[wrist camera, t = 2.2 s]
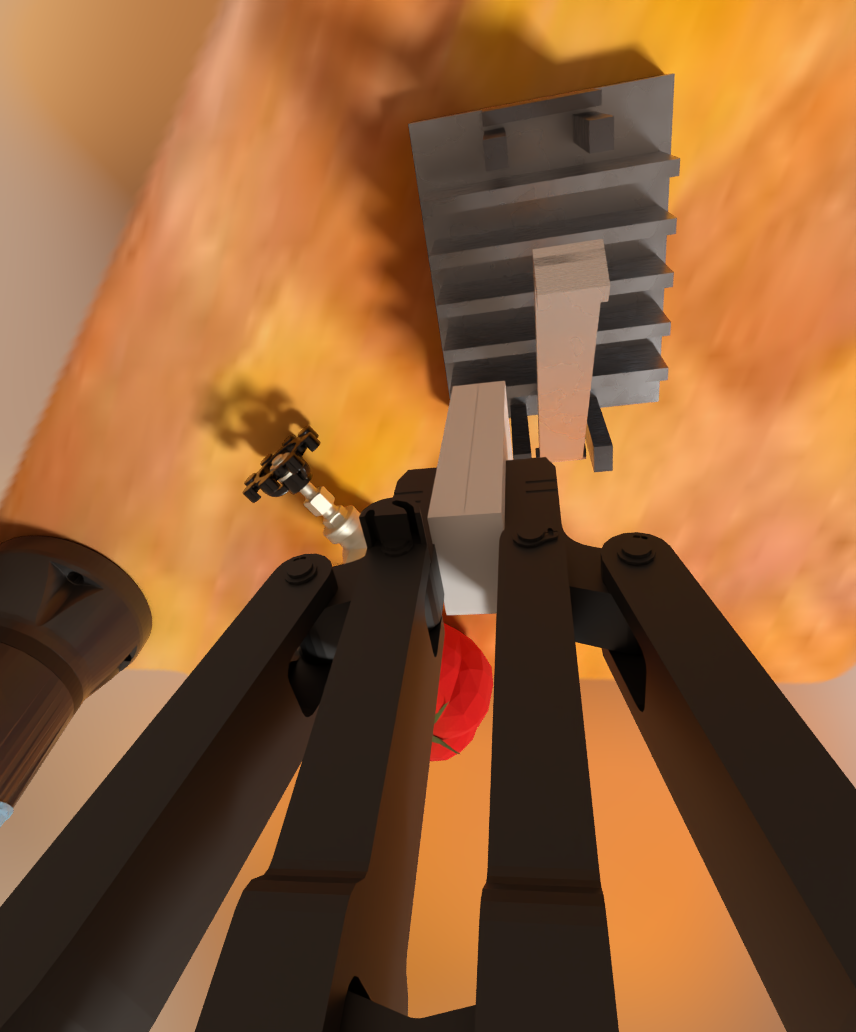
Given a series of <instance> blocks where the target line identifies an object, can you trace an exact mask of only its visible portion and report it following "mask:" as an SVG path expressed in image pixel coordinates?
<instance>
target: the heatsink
mask: <svg viewBox="0 0 856 1032" xmlns="http://www.w3.org/2000/svg"><path fill="white" fill-rule="evenodd" d="M673 95H674V74H663V75H658V76H653V77H648V78H642V79H637V80H632V81H627V82H621V83H616V84H611V85H606V86H600V87H595V88H590V89H584V90H579V91H574V92H569V93H563V94H558V95H553V96H548V97H542V98H537V99H532V100H527V101H521V102H516V103H511V104H505V105H500V106H495V107H490V108H484V109H479V110H474V111H469V112H463V113H458V114H453V115H447V116H442V117H437V118H432V119H426V120H421V121H416V122H412V123H409V124H408V126H409V132H410V139H411V146H412V152H413V159H414V165H415V172H416V178H417V185H418V192H419V198H420V205H421V211H422V218H423V224H424V231H425V238H426V244H427V251H428V257H429V264H430V270H431V277H432V284H433V290H434V297H435V303H436V310H437V316H438V323H439V330H440V336H441V343H442V349H443V356H444V363H445V369H446V376H447V382H448V389H449V395H450V399H451V394H452V388H453V386H460V385H470V384H479V383H488V382H497V381H505V386H506V396H507V407H508V417H509V418H510V417H511V426H512V444H513V459H514V460H516V459H528V458H532V457H531V447H530V437H529V428H528V418H527V416H529V415H538V399H537V369H536V338H535V308H534V278H533V249H539V248H545V247H552V246H558V245H565V244H572V243H578V242H585V241H592V240H598V239H603V242H604V248H605V255H606V261H607V268H608V274H609V280H610V292H609V299H608V301H607V302H601V303H600V312H599V321H598V329H597V338H596V347H595V355H594V364H593V373H592V381H591V390H590V399H589V407H588V416H587V425H586V433H585V439H586V443H587V447H588V451H589V454H590V458H591V462H592V466H593V470H594V472H602V471H613V445H612V442H611V439H610V436H609V433H608V430H607V427H606V424H605V421H604V418H603V415H602V412H601V409H600V408H602V407H611V406H620V405H629V404H639V403H648V402H657V401H659V382H660V381H662V380H668V367H667V365H666V363H665V362H664V360H663V358H662V357H661V341H662V336H668V335H670V328H671V322H670V320H669V319H668V318H667V316H666V315H665V314H664V312H663V300H664V288H668V287H673V275H674V272H673V271H672V270H671V269H670V268H669V267H668V266H667V265H666V264H665V259H666V238H667V235H671V234H676V222H677V218H676V217H675V216H673V215H672V214H670V213H669V212H668V197H669V177H674V176H679V168H680V158H678V157H675V156H673V155H671V136H672V115H673Z"/></svg>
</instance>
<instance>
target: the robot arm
mask: <svg viewBox="0 0 856 1032" xmlns="http://www.w3.org/2000/svg"><path fill="white" fill-rule="evenodd" d="M359 520H360V524H361V527H362V531H363V534H364V538H365V542H366V545H367V550H366V554H365V556H364V557H362V558H360V559H358V560H355V561H352V562H349V563H345V564H342V565H338V566H335V567H332V564H331V561H330V560H329V559H327V558H326V557H325V556H322V555H319V554H304V555H300V556H296V557H293V558H291V559H289V560H287V561H286V562H284V563H282V564H281V565H280V566H279V567H278V568H277V569H276V570H275V571H274V572H273V573H272V574H271V576H270V577H269V578H268V579H267V581H266V582H265V583H264V584H263V585H262V587H261V588H260V589H259V590H258V592H257V593H256V594H255V595H254V597H253V598H252V599H251V600H250V601H249V603H248V604H247V605H246V606H245V608H244V609H243V610H242V611H241V612H240V614H239V615H238V616H237V617H236V619H235V620H234V621H233V622H232V623H231V625H230V626H229V627H228V628H227V630H226V631H225V632H224V633H223V635H222V636H221V637H220V638H219V639H218V641H217V642H216V643H215V644H214V646H213V647H212V648H211V649H210V650H209V652H208V653H207V654H206V655H205V657H204V658H203V659H202V660H201V662H200V663H199V664H198V665H197V666H196V668H195V669H194V670H193V671H192V673H191V674H190V675H189V676H188V677H187V679H186V680H185V681H184V682H183V684H182V685H181V686H180V687H179V689H178V690H177V691H176V693H174V695H173V696H172V697H171V698H170V700H169V701H168V702H167V704H165V706H164V707H163V708H162V710H161V711H160V712H159V713H158V714H157V715H156V717H155V718H154V719H153V720H152V722H151V723H150V724H149V725H148V727H147V728H146V729H145V730H144V731H143V733H142V734H141V735H140V736H139V738H138V739H137V740H136V741H135V743H134V744H133V745H132V746H131V748H130V749H129V750H128V751H127V752H126V754H125V755H124V756H123V757H122V759H121V760H120V761H119V762H118V763H117V765H116V766H115V767H114V768H113V769H112V771H111V772H110V773H109V774H108V776H107V777H106V778H105V779H104V781H103V782H102V783H101V784H100V785H99V787H98V788H97V789H96V790H95V792H94V793H93V794H92V795H91V797H90V798H89V799H88V800H87V801H86V803H85V804H84V805H83V806H82V808H81V809H80V810H79V811H78V812H77V814H76V815H75V816H74V817H73V819H72V820H71V821H70V822H69V824H68V825H67V826H66V827H65V828H64V830H63V831H62V832H61V833H60V835H59V836H58V837H57V838H56V840H55V841H54V842H53V843H52V844H51V846H50V847H49V848H48V849H47V851H46V852H45V853H44V854H43V855H42V857H41V858H40V859H39V860H38V862H37V863H36V864H35V865H34V866H33V868H32V869H31V870H30V871H29V873H28V874H27V875H26V876H25V877H24V879H23V880H22V881H21V882H20V884H19V885H18V886H17V887H16V888H15V890H14V891H13V892H12V893H11V895H10V896H9V897H8V898H7V899H6V901H5V902H4V903H3V904H2V906H1V907H0V1032H149V1031H150V1029H151V1027H152V1026H153V1024H154V1022H155V1021H156V1019H157V1017H158V1015H159V1014H160V1012H161V1010H162V1008H163V1007H164V1005H165V1003H166V1001H167V1000H168V998H169V996H170V994H171V992H172V991H173V989H174V987H175V985H176V984H177V982H178V980H179V978H180V976H181V975H182V973H183V971H184V969H185V967H186V966H187V964H188V962H189V960H190V959H191V957H192V955H193V953H194V952H195V950H196V948H197V946H198V945H199V943H200V941H201V939H202V937H203V935H204V934H205V932H206V930H207V929H208V927H209V925H210V923H211V921H212V920H213V918H214V916H215V914H216V913H217V911H218V909H219V907H220V905H221V904H222V902H223V900H224V898H225V896H226V895H227V893H228V891H229V890H230V888H231V886H232V884H233V882H234V881H235V879H236V877H237V875H238V873H239V872H240V870H241V868H242V866H243V865H244V863H245V861H246V859H247V858H248V856H249V854H250V852H251V850H252V848H253V847H254V845H255V843H256V842H257V840H258V838H259V836H260V834H261V833H262V831H263V829H264V827H265V826H266V824H267V822H268V820H269V819H270V817H271V815H272V813H273V811H274V810H275V808H276V806H277V804H278V802H279V801H280V799H281V797H282V795H283V794H284V792H285V790H286V788H287V787H288V785H289V783H290V781H291V779H292V778H293V776H294V774H295V772H296V771H297V769H298V767H299V765H300V764H301V762H302V764H301V767H300V770H299V773H298V777H297V780H296V784H295V787H294V790H293V793H292V797H291V800H290V803H289V806H288V810H287V813H286V817H285V819H284V823H283V826H282V829H281V833H280V836H279V839H278V842H277V846H276V849H275V852H274V855H273V859H272V861H271V864H270V866H269V869H268V870H267V871H266V873H265V874H264V875H262V876H259V877H257V878H255V879H252V880H251V881H250V882H249V884H248V885H247V887H246V888H245V889H244V890H243V892H242V895H241V897H240V899H239V902H238V904H237V906H236V909H235V912H234V915H233V918H232V921H231V924H230V927H229V930H228V933H227V936H226V939H225V942H224V945H223V948H222V951H221V954H220V957H219V960H218V963H217V966H216V969H215V972H214V975H213V978H212V981H211V984H210V987H209V990H208V993H207V996H206V999H205V1003H204V1005H203V1009H202V1011H201V1015H200V1017H199V1021H198V1024H197V1027H196V1029H195V1032H619V1029H618V1020H617V1011H616V1001H615V991H614V983H613V973H612V965H611V956H610V955H611V954H610V945H609V936H608V927H607V918H606V910H605V903H604V895H603V891H602V888H601V882H600V873H599V864H598V855H597V845H596V835H595V826H594V817H593V807H592V798H591V788H590V779H589V769H588V759H587V750H586V740H585V731H584V721H583V712H582V703H581V693H580V683H579V674H578V664H577V655H576V645H575V642H578V643H582V644H587V645H591V646H595V647H600V648H602V652H603V656H604V658H605V660H606V662H607V664H608V666H609V668H610V670H611V673H612V675H613V677H614V679H615V681H616V683H617V685H618V687H619V689H620V691H621V693H622V695H623V697H624V699H625V701H626V703H627V705H628V707H629V709H630V711H631V713H632V715H633V717H634V720H635V722H636V724H637V726H638V728H639V730H640V732H641V734H642V736H643V738H644V740H645V742H646V744H647V746H648V748H649V750H650V752H651V754H652V757H653V759H654V761H655V762H656V765H657V767H658V768H659V771H660V773H661V775H662V777H663V779H664V781H665V783H666V785H667V787H668V789H669V791H670V793H671V795H672V797H673V800H674V802H675V804H676V806H677V808H678V810H679V812H680V814H681V816H682V818H683V820H684V822H685V824H686V826H687V828H688V830H689V832H690V834H691V836H692V838H693V840H694V842H695V845H696V847H697V849H698V851H699V853H700V855H701V857H702V858H703V861H704V863H705V865H706V867H707V869H708V871H709V873H710V875H711V877H712V879H713V881H714V883H715V886H716V887H717V890H718V892H719V894H720V896H721V898H722V900H723V902H724V904H725V906H726V908H727V910H728V912H729V914H730V916H731V918H732V920H733V922H734V924H735V926H736V929H737V930H738V933H739V935H740V937H741V939H742V941H743V943H744V945H745V947H746V949H747V951H748V953H749V955H750V957H751V959H752V961H753V963H754V965H755V967H756V970H757V972H758V974H759V976H760V978H761V980H762V982H763V984H764V986H765V988H766V990H767V992H768V994H769V996H770V998H771V1000H772V1002H773V1004H774V1006H775V1008H776V1010H777V1013H778V1015H779V1017H780V1019H781V1021H782V1023H783V1025H784V1027H785V1029H786V1031H787V1032H856V789H855V787H854V786H853V785H852V783H851V782H850V781H849V779H848V778H847V777H846V776H845V774H844V773H843V772H842V770H841V769H840V768H839V766H838V765H837V764H836V762H835V761H834V760H833V759H832V757H831V756H830V755H829V753H828V752H827V751H826V749H825V748H824V747H823V745H822V744H821V743H820V742H819V740H818V739H817V738H816V736H815V735H814V734H813V732H812V731H811V730H810V728H809V727H808V726H807V724H806V723H805V722H804V721H803V719H802V718H801V717H800V716H799V714H798V713H797V711H796V710H795V709H794V708H793V706H792V705H791V704H790V702H789V701H788V700H787V698H786V697H785V696H784V694H783V693H782V692H781V690H780V689H779V688H778V686H777V685H776V684H775V683H774V681H773V680H772V679H771V677H770V676H769V675H768V673H767V672H766V671H765V669H764V668H763V667H762V666H761V664H760V663H759V662H758V660H757V659H756V658H755V656H754V655H753V654H752V652H751V651H750V650H749V649H748V647H747V646H746V645H745V643H744V642H743V641H742V639H741V638H740V637H739V635H738V634H737V633H736V632H735V630H734V629H733V628H732V626H731V625H730V624H729V622H728V621H727V620H726V618H725V617H724V616H723V615H722V613H721V612H720V611H719V609H718V608H717V607H716V605H715V604H714V603H713V601H712V600H711V599H710V598H709V596H708V595H707V594H706V592H705V591H704V590H703V588H702V587H701V586H700V584H699V583H698V582H697V581H696V579H695V578H694V577H693V575H692V574H691V573H690V571H689V570H688V569H687V567H686V566H685V565H684V564H683V562H682V561H681V560H680V558H679V557H678V556H677V554H676V553H675V552H674V550H673V549H672V548H671V546H670V545H668V544H667V543H666V542H665V541H664V540H662V539H661V538H658V537H656V536H653V535H651V534H645V533H638V532H635V533H623V534H620V535H617V536H615V537H612V538H610V539H609V540H608V541H607V542H605V543H604V545H603V547H602V548H597V547H591V546H587V545H583V544H580V543H578V542H576V541H574V540H572V539H571V538H569V537H568V536H567V535H566V534H565V532H564V531H563V528H562V524H561V514H560V505H559V496H558V486H557V477H556V468H555V466H554V465H553V464H552V463H551V462H550V461H549V460H548V459H547V458H546V457H540V458H528V459H516V460H513V458H512V447H511V437H510V427H509V417H508V407H507V396H506V386H505V381H497V382H488V383H479V384H470V385H460V386H453V388H452V394H451V399H450V404H449V409H448V414H447V419H446V424H445V430H444V435H443V440H442V445H441V450H440V455H439V460H438V466H437V468H426V469H414V470H408V471H407V472H406V473H405V474H404V475H403V476H402V477H401V478H400V479H399V480H398V481H397V485H396V488H395V492H394V495H393V498H387V499H382V500H380V501H377V502H375V503H372V504H371V505H369V506H368V507H367V508H365V509H364V510H363V511H362V513H361V514H360V516H359ZM443 602H444V604H445V609H446V614H447V615H466V614H492V613H497V617H496V645H495V674H494V703H493V732H492V761H491V789H490V817H489V845H488V872H487V880H486V884H485V886H484V888H483V890H482V896H481V905H480V919H479V942H478V965H477V989H476V1005H473V1006H470V1007H465V1008H462V1009H457V1010H453V1011H449V1012H445V1013H441V1014H437V1015H433V1016H429V1017H425V1018H410V1017H408V991H407V976H406V958H407V948H408V940H409V931H410V922H411V914H412V906H413V897H414V889H415V880H416V872H417V864H418V856H419V855H418V854H419V847H420V839H421V830H422V822H423V814H424V805H425V797H426V787H427V780H428V771H429V763H430V755H431V746H432V738H433V729H434V721H435V713H436V704H437V696H438V687H439V679H440V670H441V662H442V654H443V645H444V637H445V629H444V623H443V618H442V610H443ZM151 629H152V616H151V611H150V608H149V605H148V603H147V601H146V599H145V597H144V595H143V593H142V592H141V590H140V589H139V588H138V586H137V585H136V584H135V583H134V581H133V580H132V579H131V578H130V577H129V576H128V575H127V574H126V573H125V572H124V571H122V570H121V569H120V568H119V567H118V566H116V565H115V564H114V563H112V562H111V561H109V560H108V559H106V558H105V557H103V556H101V555H100V554H98V553H96V552H94V551H92V550H90V549H88V548H86V547H83V546H81V545H79V544H76V543H73V542H70V541H66V540H63V539H58V538H53V537H46V536H24V537H18V538H14V539H10V540H8V541H5V542H4V543H2V544H0V827H1V826H2V824H3V823H4V822H5V821H6V820H7V819H8V818H10V816H11V814H12V813H13V811H14V810H13V808H14V806H15V805H16V803H17V802H18V800H19V799H20V797H21V796H22V794H23V793H24V791H25V790H26V788H27V786H28V785H29V783H30V782H31V780H32V779H33V777H34V776H35V774H36V773H37V771H38V770H39V768H40V767H41V765H42V763H43V762H44V760H45V759H46V757H47V756H48V754H49V753H50V751H51V750H52V748H53V746H54V745H55V743H56V742H57V740H58V739H59V737H60V736H61V734H62V733H63V731H64V730H65V728H66V727H67V725H68V723H69V722H70V720H71V719H72V717H73V716H74V714H75V713H76V711H77V710H78V708H79V707H80V705H81V704H82V703H83V701H84V700H85V699H86V698H88V697H89V696H90V695H92V694H93V693H94V692H95V691H97V690H98V689H99V688H101V687H102V686H103V685H104V684H106V683H107V682H108V681H109V680H111V679H112V678H113V677H114V676H115V675H117V674H118V673H119V672H120V671H122V670H123V669H124V668H126V667H127V666H128V665H129V664H131V663H132V662H133V660H134V659H135V658H136V657H137V655H138V654H139V652H140V651H141V649H142V648H143V646H144V644H145V643H146V641H147V640H148V638H149V636H150V633H151Z"/></svg>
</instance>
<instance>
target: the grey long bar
mask: <svg viewBox="0 0 856 1032" xmlns="http://www.w3.org/2000/svg"><path fill="white" fill-rule="evenodd" d="M533 278H534V308H535V338H536V369H537V399H538V429H539V448H536V458H540V457H546V458H547V459H548V460H549V461H550V462H560V461H570V460H580V459H586V448H585V443H584V442H585V433H586V425H587V416H588V407H589V399H590V390H591V381H592V373H593V364H594V355H595V347H596V338H597V329H598V321H599V312H600V303H601V302H607V301H608V299H609V292H610V280H609V274H608V268H607V261H606V255H605V248H604V242H603V239H598V240H592V241H585V242H578V243H572V244H565V245H558V246H552V247H545V248H539V249H533Z"/></svg>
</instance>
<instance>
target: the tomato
mask: <svg viewBox="0 0 856 1032" xmlns="http://www.w3.org/2000/svg"><path fill="white" fill-rule="evenodd" d="M444 629H445V637H444V645H443V654H442V662H441V670H440V679H439V687H438V696H437V704H436V713H435V721H434V729H433V738H432V746H431V755H430V761H441V760H448V759H449V758H451V757H453V756H454V755H456V754H459V753H460V752H461V751H462V750H463V749H464V748H465V747H466V746H467V745H468V744H469V743H470V742H471V741H472V740H473V737H474V735H475V732H476V729H477V727H478V726H479V725H480V723H481V721H482V720H483V718H484V717H485V715H486V713H487V712H488V709H489V704H490V698H491V693H492V688H493V678H492V668H491V666H490V664H489V662H488V661H487V659H486V657H485V656H484V654H483V653H482V651H481V650H480V649H479V648H478V647H477V645H476V644H475V643H474V642H473V641H472V640H471V639H470V638H468V637H467V636H465V635H464V634H463V633H461V632H460V631H458V630H456V629H455V628H453V627H451V626H449V625H447V624H445V623H444Z"/></svg>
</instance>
